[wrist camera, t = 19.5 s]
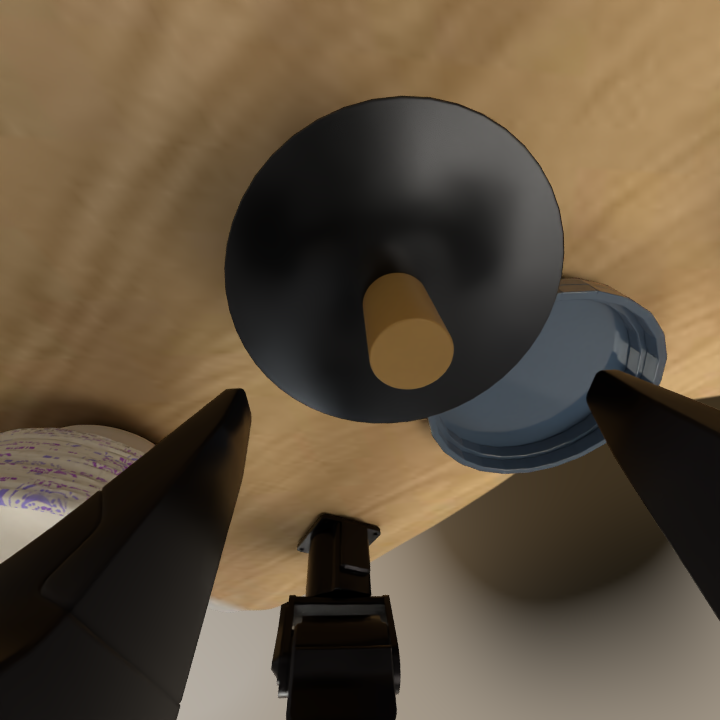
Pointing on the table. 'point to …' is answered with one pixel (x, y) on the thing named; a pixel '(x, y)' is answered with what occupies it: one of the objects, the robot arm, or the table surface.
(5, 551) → the paper bowls
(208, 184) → the table surface
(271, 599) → the table surface
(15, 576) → the robot arm
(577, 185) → the table surface
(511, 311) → the tin lid
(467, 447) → the blue-grey round rimmed part
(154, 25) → the table surface
